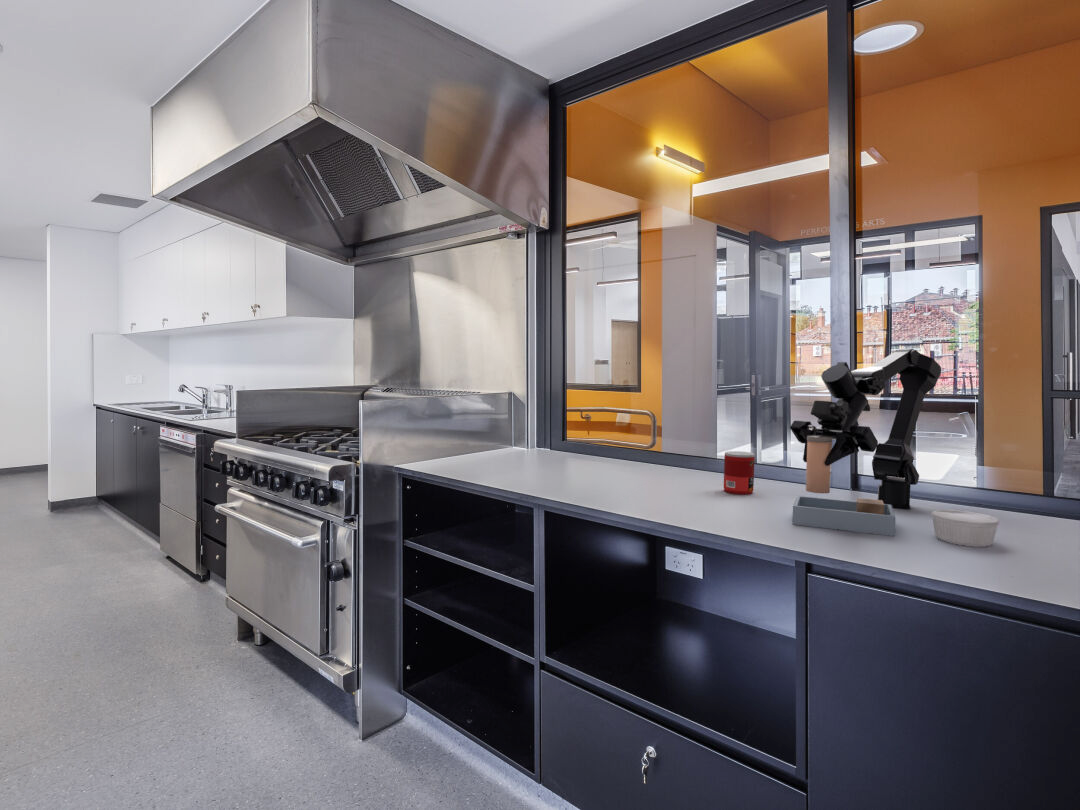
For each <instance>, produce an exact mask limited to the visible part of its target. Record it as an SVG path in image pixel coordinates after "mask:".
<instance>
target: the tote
mask: <svg viewBox="0 0 1080 810" xmlns="http://www.w3.org/2000/svg"><path fill="white" fill-rule="evenodd" d="M896 518H897V517H896V514H895V511H894V507H892V505H889V504H884V515H882V514H872V513H863V512H857V500H845V499H838V498H837V499H836V498H825V497H817V496H816V497H815V496H814V497H813V496H804V495H796V497H795V500H794V502H793V505H792V519H791V521H792V523H791V524H792V525H797V526H804V527H805V526H806V527H813V528H820V527H821V528H822V529H829V528H830V529H831V530H837V529H839V531H846V530H847V531H846V532H855V533H856V532H857V533H863V532H864V534H871V533H873V534H875V535H880V534H881V536H888V535H889V537H890V536H891V537H896ZM873 534H872V535H873Z"/></svg>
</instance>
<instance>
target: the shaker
mask: <svg viewBox="0 0 1080 810" xmlns="http://www.w3.org/2000/svg"><path fill="white" fill-rule="evenodd" d="M832 443H833V440H832V437H831V436H823V435H808V436H807V462H806V466H805V467H806V470H805V492H808V493H813V494H829V493H831V471H832V464H830V465H829V466H826V465H825V460H826V458H827V456H828V454H829V453H830V451H831V449H832V448H833V446H832Z"/></svg>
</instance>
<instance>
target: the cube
mask: <svg viewBox="0 0 1080 810" xmlns="http://www.w3.org/2000/svg"><path fill="white" fill-rule="evenodd" d="M856 501H857V512H863V513H872V514H882V515H884V503H883V500H878V499H872V498H871V499H870V498H861V497H857V498H856Z"/></svg>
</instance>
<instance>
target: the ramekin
mask: <svg viewBox="0 0 1080 810" xmlns="http://www.w3.org/2000/svg"><path fill="white" fill-rule="evenodd" d="M931 518H932V523H933V531H934V535H935V536H936V538H937V539H938V538H939V539H938V540H940V539H941V540H940V541H942V540H943V541H942V542H945V541H946V542H945V543H948V542H949V544H952V543H953V544H952V545H956V544H958V546H962V545H965V546H964V547H970V546H973V548H986V546H987V547H989V546H991V545H992V544H994V541H995V538H996V533H997V528H998V526H1000V520H999V519H998V518H997V517H994V516H992V515H988V514H984V513H977V512H972V511H966V510H965V511H964V510H957V509H955V510H954V509H937V510H933V511H932V512H931Z"/></svg>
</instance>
